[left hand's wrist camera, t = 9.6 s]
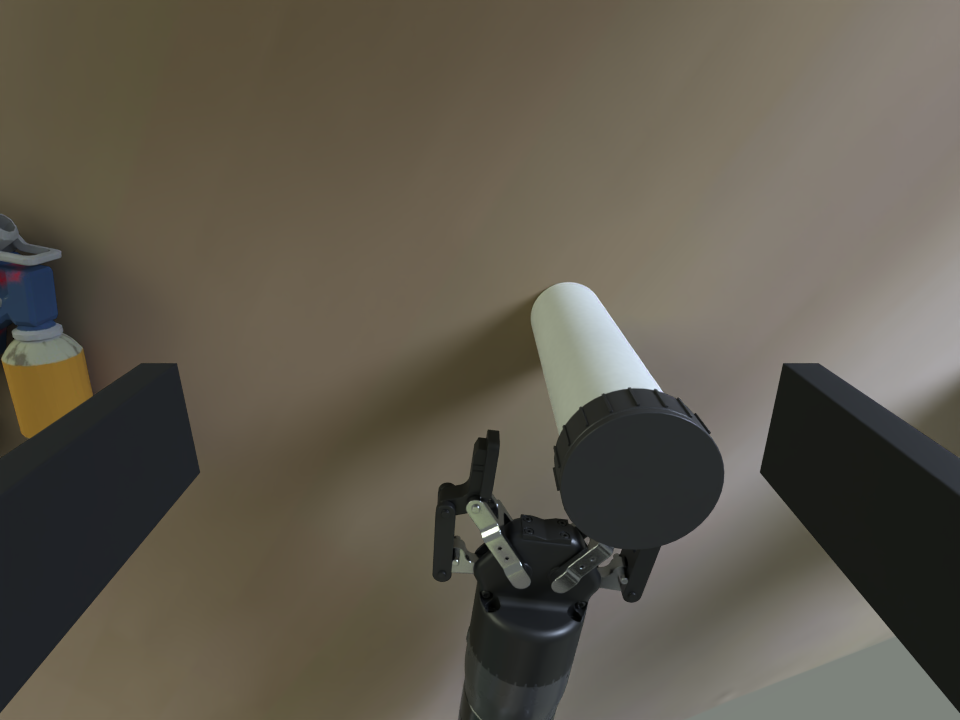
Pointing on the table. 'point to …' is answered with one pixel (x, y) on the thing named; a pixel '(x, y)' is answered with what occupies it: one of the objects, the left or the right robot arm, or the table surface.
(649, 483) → the lid
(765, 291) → the table surface
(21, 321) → the spray gun
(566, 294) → the bottle
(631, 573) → the right robot arm
